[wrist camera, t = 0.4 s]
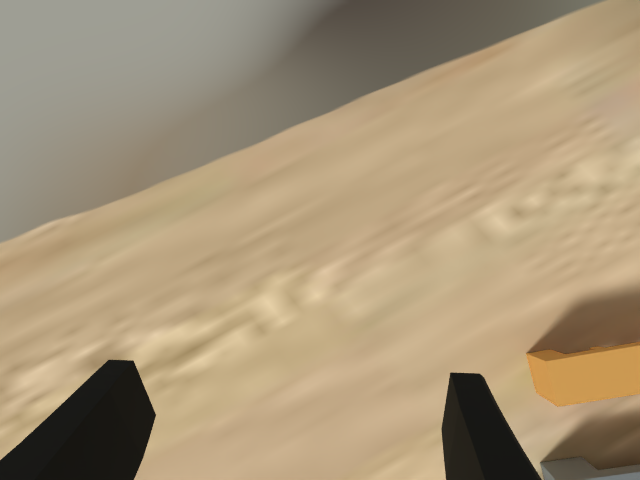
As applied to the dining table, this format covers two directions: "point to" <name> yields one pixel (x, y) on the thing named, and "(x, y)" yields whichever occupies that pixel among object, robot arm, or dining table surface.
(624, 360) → the notched orange plank
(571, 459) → the grey frame
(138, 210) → the dining table surface
